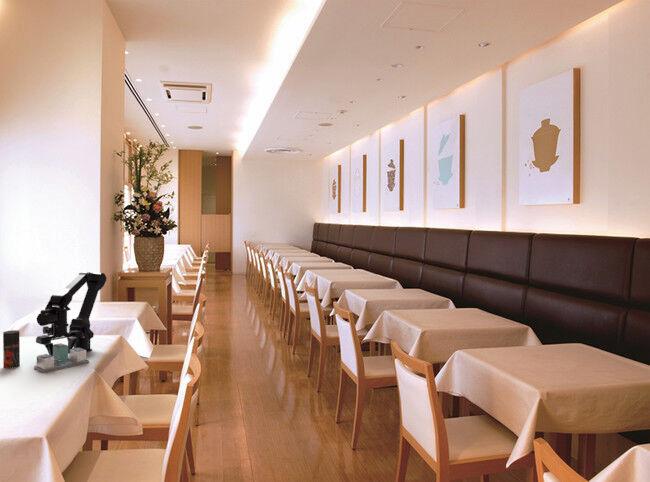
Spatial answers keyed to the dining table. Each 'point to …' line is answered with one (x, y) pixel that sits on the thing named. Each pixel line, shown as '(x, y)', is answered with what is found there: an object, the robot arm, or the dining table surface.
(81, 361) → the gray block holder
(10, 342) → the deodorant
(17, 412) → the dining table surface
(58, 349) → the block
